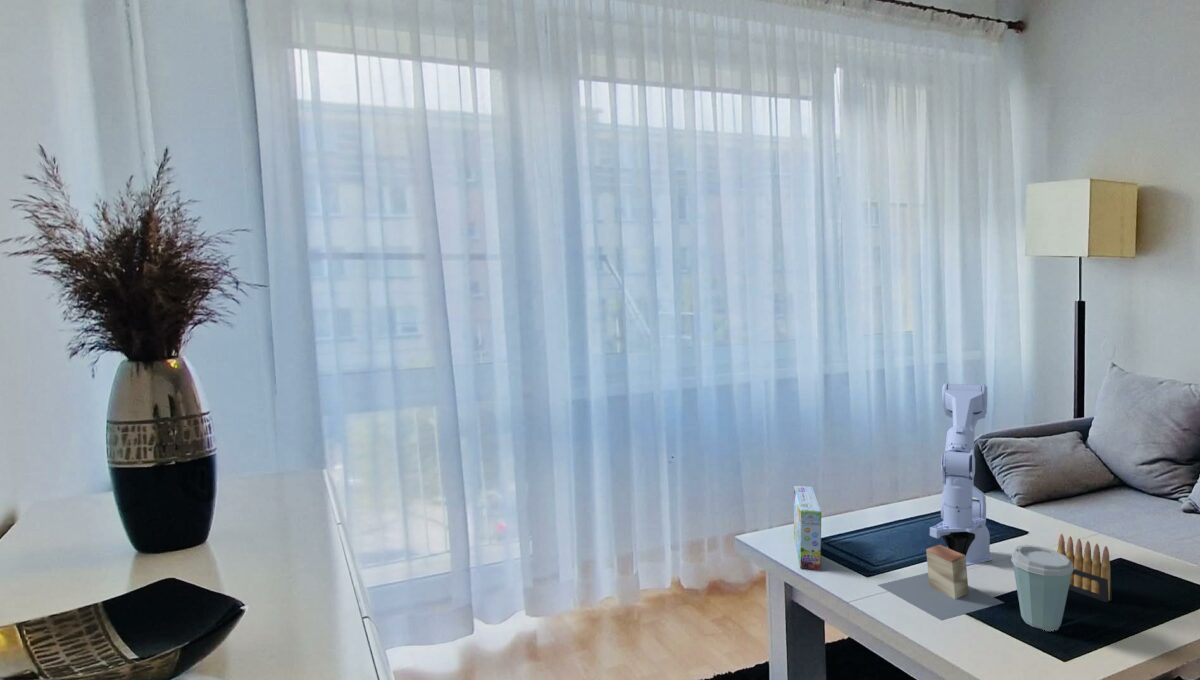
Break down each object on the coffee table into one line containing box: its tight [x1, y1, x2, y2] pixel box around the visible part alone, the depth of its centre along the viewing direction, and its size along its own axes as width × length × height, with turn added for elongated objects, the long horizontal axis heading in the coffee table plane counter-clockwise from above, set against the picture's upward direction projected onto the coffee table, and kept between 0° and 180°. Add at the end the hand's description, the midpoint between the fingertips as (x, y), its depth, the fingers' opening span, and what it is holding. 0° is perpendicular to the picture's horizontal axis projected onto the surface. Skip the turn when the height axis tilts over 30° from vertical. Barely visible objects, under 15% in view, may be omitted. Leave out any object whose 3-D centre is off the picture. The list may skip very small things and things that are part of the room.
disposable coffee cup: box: [1010, 544, 1074, 632], centre depth 136 cm, size 11×11×15 cm
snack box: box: [793, 485, 822, 570], centre depth 176 cm, size 21×6×15 cm, turn 168°
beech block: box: [925, 544, 969, 599], centre depth 151 cm, size 4×7×9 cm, turn 20°
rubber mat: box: [877, 572, 1005, 621], centre depth 151 cm, size 18×18×1 cm
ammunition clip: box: [1056, 533, 1113, 603], centre depth 149 cm, size 11×2×12 cm, turn 29°
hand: (957, 562), depth 152 cm, fingers closed
